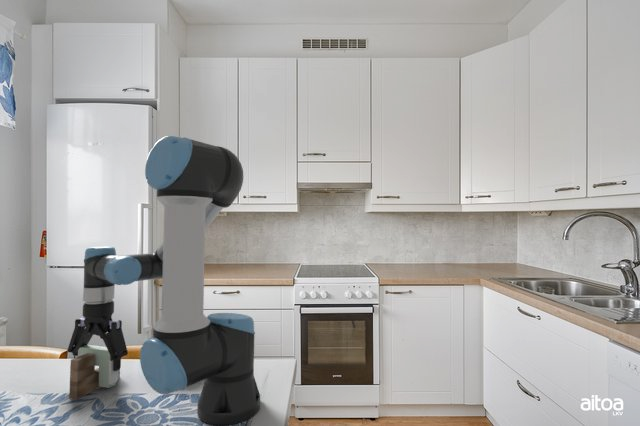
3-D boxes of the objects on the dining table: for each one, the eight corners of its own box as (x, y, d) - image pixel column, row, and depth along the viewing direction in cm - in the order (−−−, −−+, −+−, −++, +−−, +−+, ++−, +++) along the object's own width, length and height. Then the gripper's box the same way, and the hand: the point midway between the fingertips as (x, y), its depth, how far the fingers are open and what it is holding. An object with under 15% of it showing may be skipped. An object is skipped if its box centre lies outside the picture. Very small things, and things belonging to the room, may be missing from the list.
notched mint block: (116, 384, 97) (117, 347, 98) (108, 387, 95) (110, 350, 95) (84, 379, 100) (85, 344, 100) (76, 383, 98) (78, 347, 98)
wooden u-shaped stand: (112, 376, 104) (114, 342, 105) (119, 377, 104) (120, 343, 104) (69, 398, 91) (70, 359, 91) (76, 399, 90) (77, 360, 91)
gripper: (143, 300, 99) (141, 378, 98) (78, 296, 105) (75, 370, 104) (122, 306, 92) (120, 390, 91) (53, 301, 98) (50, 380, 97)
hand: (96, 379), depth 97 cm, fingers closed on notched mint block, 11 cm apart
